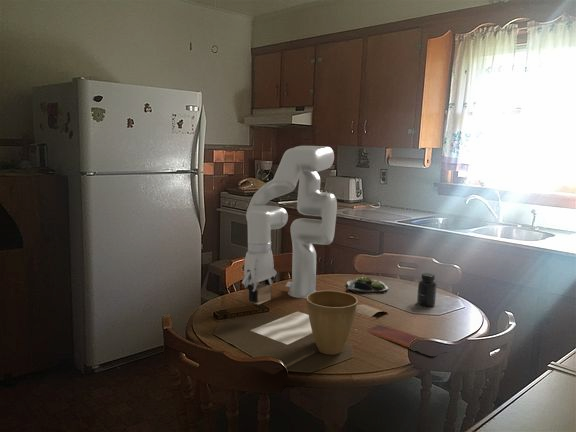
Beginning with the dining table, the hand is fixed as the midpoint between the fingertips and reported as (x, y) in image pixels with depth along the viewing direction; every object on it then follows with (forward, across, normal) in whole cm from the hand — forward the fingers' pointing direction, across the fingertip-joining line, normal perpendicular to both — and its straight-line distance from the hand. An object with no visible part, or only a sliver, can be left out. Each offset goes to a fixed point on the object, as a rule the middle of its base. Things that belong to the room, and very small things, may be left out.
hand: (260, 298), depth 157 cm
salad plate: (+12, -60, +4) cm, 62 cm away
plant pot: (+9, 0, +29) cm, 31 cm away
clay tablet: (+11, -34, +21) cm, 41 cm away
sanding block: (+1, 0, 0) cm, 1 cm away
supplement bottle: (+11, -59, +32) cm, 68 cm away
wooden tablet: (+10, -22, +42) cm, 49 cm away
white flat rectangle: (+9, -4, +11) cm, 15 cm away
